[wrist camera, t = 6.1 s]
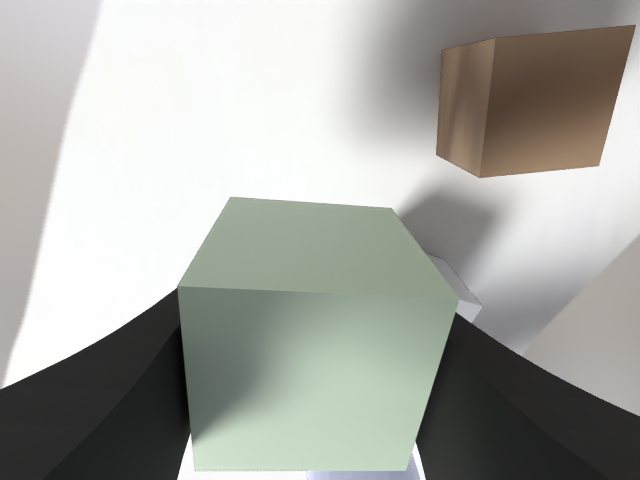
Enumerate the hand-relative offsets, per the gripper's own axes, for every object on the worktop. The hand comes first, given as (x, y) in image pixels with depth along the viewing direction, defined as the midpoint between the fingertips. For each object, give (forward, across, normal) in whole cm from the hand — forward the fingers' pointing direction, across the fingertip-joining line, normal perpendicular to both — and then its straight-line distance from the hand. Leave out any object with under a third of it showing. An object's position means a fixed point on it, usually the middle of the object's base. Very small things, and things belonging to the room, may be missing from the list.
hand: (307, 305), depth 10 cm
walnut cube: (+10, -9, -6) cm, 15 cm away
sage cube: (+2, 0, 0) cm, 2 cm away
